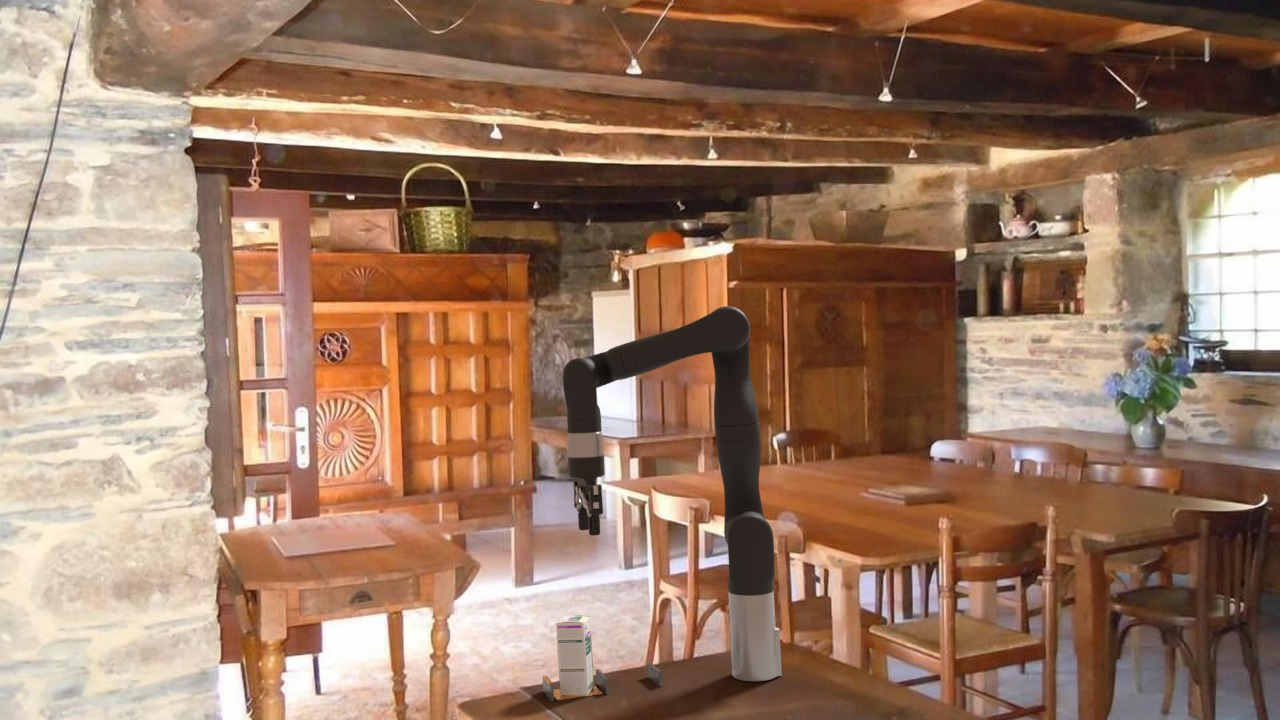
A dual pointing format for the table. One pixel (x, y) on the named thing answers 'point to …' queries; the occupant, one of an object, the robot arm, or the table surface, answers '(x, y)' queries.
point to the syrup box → (575, 655)
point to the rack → (600, 681)
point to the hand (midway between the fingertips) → (589, 532)
